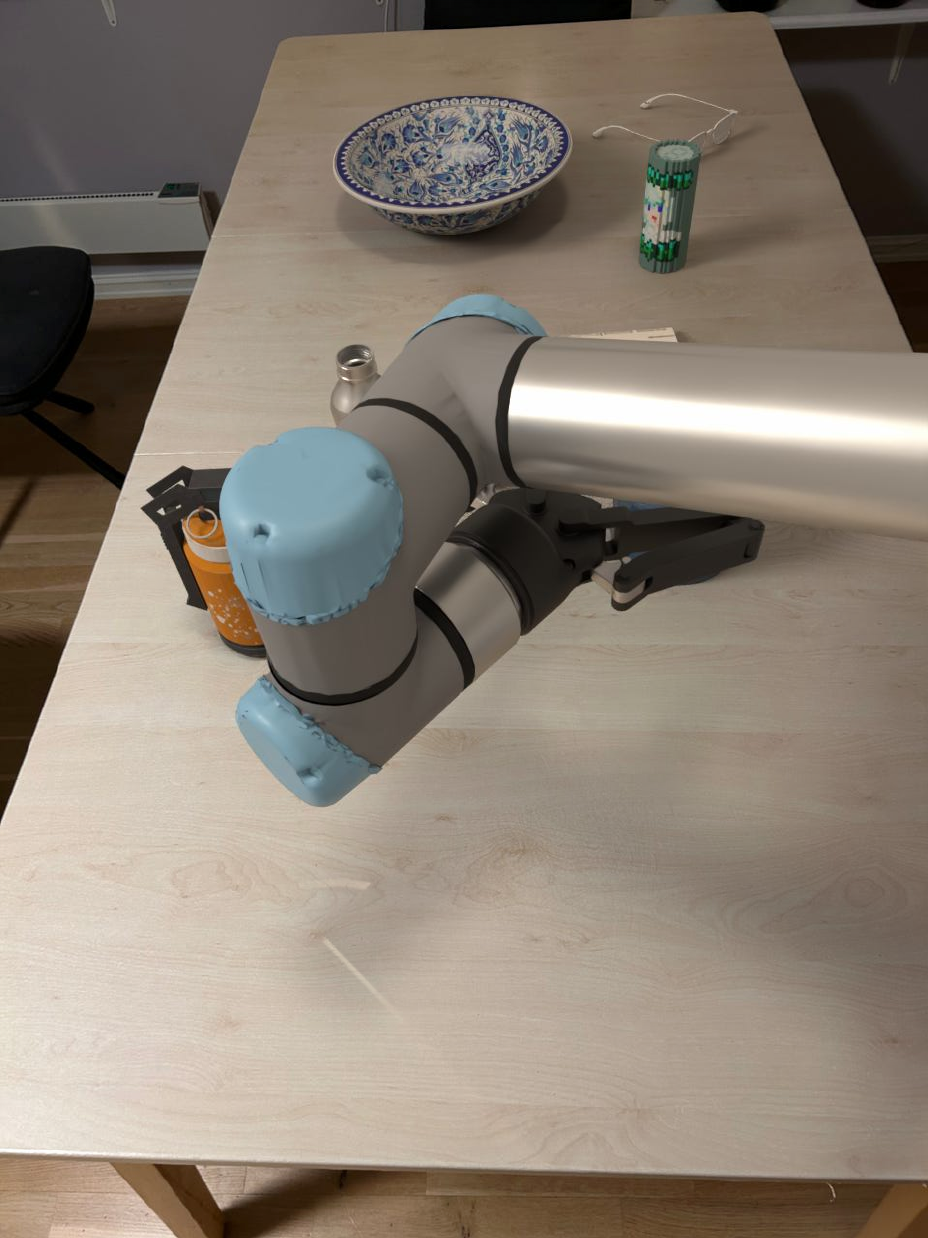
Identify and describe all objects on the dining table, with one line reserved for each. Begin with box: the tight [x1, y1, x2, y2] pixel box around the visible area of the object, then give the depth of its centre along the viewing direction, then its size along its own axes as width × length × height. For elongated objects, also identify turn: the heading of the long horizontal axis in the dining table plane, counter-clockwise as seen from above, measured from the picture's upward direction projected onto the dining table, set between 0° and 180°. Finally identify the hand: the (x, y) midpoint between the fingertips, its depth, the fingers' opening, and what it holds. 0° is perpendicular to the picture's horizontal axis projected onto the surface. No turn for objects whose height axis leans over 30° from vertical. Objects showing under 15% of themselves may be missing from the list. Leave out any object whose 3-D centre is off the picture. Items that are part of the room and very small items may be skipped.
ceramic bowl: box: [332, 94, 574, 236], centre depth 136 cm, size 34×34×10 cm
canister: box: [139, 465, 267, 657], centre depth 84 cm, size 9×11×20 cm
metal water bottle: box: [329, 343, 382, 427], centre depth 93 cm, size 6×7×20 cm
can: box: [638, 138, 702, 274], centre depth 123 cm, size 6×6×15 cm
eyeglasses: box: [592, 93, 739, 153], centre depth 150 cm, size 15×18×4 cm
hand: (694, 409), depth 63 cm, fingers open, 13 cm apart
